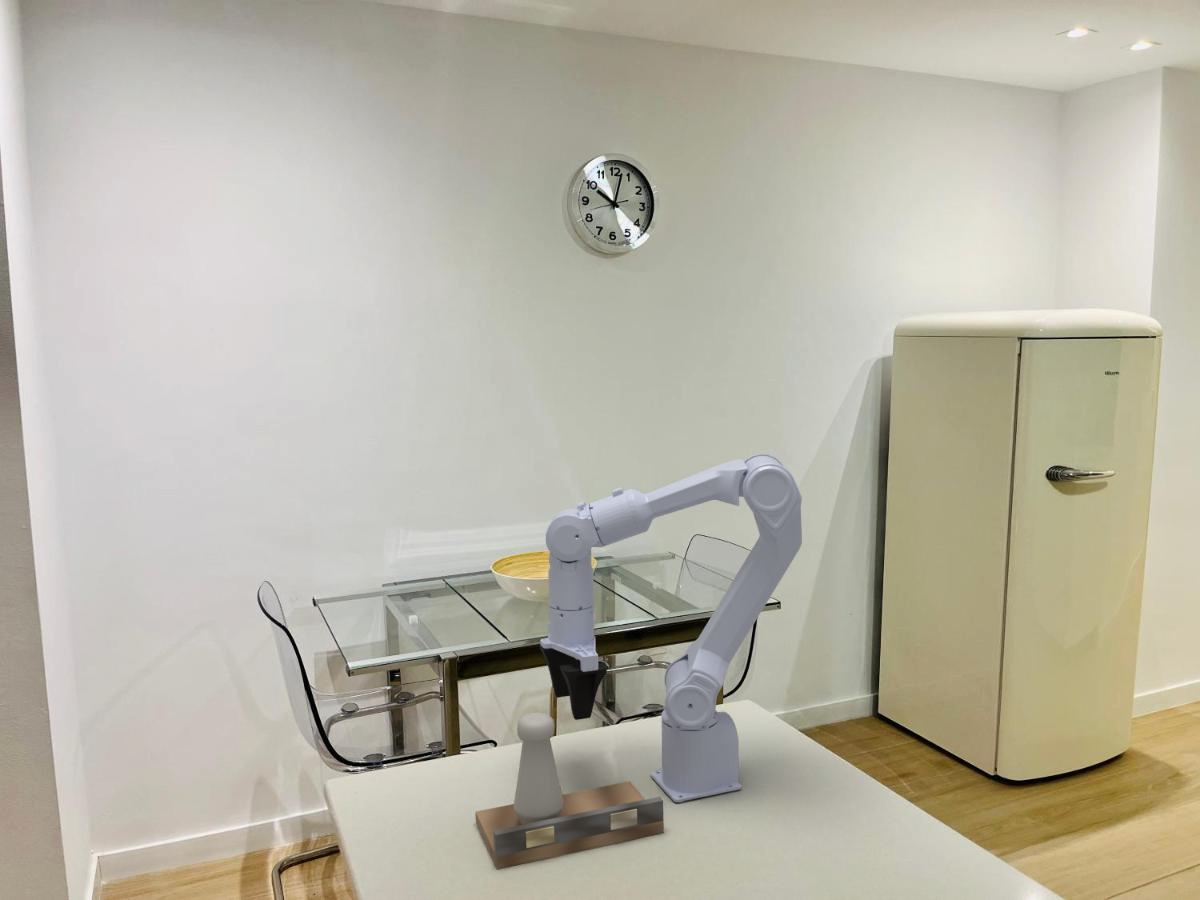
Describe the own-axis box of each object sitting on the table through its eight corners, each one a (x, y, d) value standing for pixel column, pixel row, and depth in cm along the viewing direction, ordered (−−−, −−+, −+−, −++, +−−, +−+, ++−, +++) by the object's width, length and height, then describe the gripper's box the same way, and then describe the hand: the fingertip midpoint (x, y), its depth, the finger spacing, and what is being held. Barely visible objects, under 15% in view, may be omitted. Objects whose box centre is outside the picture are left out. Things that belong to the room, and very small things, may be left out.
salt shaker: (569, 813, 111) (567, 709, 109) (555, 839, 105) (552, 729, 104) (523, 808, 112) (520, 705, 111) (507, 833, 107) (503, 724, 105)
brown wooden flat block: (630, 792, 119) (629, 762, 118) (664, 833, 109) (663, 801, 108) (475, 823, 112) (474, 791, 111) (497, 870, 102) (496, 835, 101)
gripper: (525, 592, 124) (527, 690, 126) (558, 624, 110) (560, 733, 112) (575, 587, 126) (576, 683, 128) (614, 617, 113) (614, 724, 115)
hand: (572, 706), depth 120 cm, fingers open, 7 cm apart
